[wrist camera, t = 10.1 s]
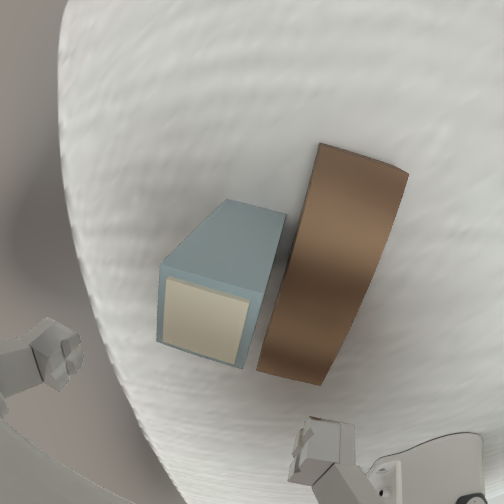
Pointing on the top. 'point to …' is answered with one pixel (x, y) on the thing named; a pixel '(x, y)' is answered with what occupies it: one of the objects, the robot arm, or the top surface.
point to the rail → (330, 262)
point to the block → (218, 283)
